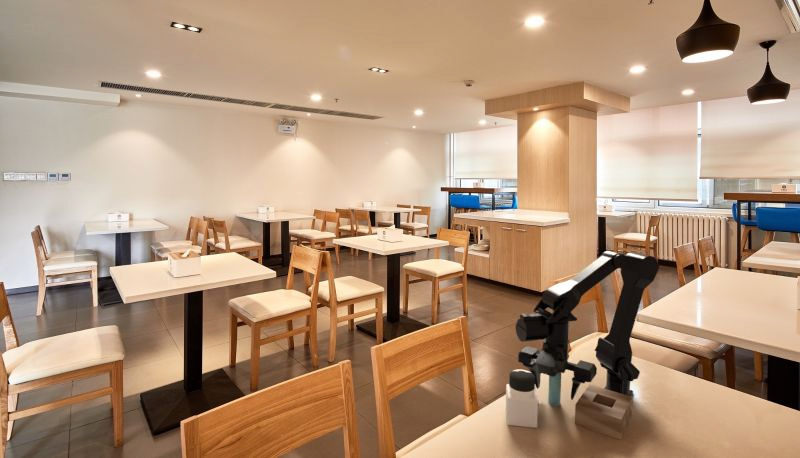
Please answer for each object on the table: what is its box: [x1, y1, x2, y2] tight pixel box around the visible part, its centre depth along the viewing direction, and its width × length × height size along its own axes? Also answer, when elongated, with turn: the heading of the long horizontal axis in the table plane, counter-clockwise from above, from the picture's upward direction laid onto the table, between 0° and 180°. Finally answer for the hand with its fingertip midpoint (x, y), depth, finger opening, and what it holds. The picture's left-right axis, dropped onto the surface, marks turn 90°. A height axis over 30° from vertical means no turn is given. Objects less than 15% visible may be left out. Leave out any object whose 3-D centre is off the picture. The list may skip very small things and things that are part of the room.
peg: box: [547, 372, 562, 407], centre depth 107 cm, size 3×3×9 cm
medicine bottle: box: [505, 369, 540, 429], centre depth 100 cm, size 7×7×12 cm
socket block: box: [574, 383, 633, 441], centre depth 100 cm, size 12×10×5 cm
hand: (554, 393), depth 107 cm, fingers open, 9 cm apart
